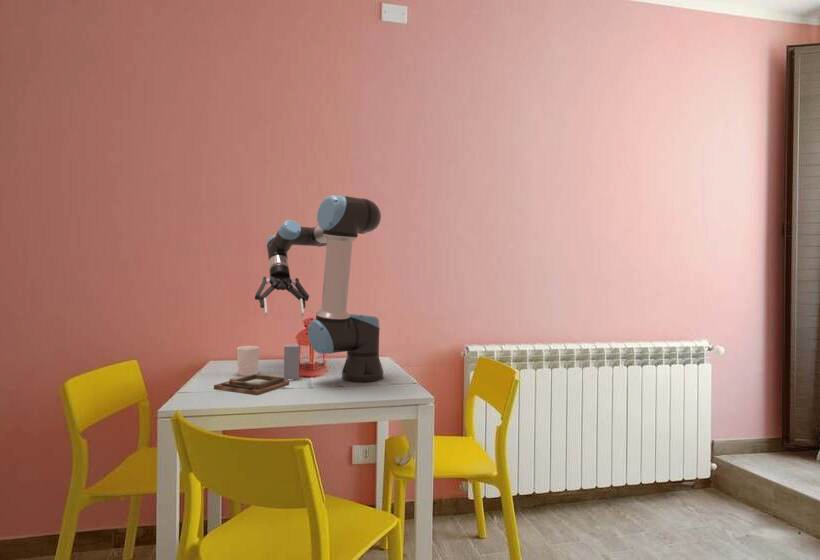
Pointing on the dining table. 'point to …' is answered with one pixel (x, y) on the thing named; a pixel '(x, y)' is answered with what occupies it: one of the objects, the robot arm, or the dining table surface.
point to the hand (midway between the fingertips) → (284, 314)
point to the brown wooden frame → (252, 384)
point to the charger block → (291, 361)
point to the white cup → (248, 360)
